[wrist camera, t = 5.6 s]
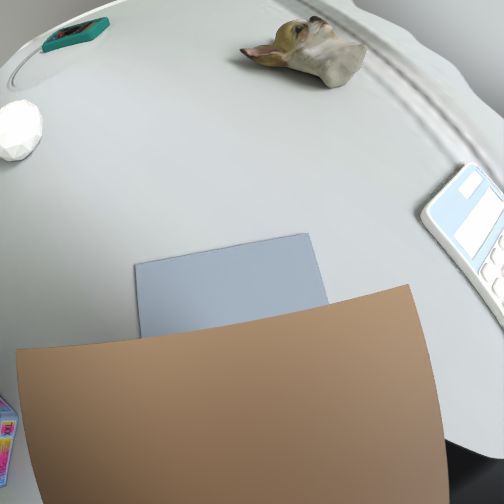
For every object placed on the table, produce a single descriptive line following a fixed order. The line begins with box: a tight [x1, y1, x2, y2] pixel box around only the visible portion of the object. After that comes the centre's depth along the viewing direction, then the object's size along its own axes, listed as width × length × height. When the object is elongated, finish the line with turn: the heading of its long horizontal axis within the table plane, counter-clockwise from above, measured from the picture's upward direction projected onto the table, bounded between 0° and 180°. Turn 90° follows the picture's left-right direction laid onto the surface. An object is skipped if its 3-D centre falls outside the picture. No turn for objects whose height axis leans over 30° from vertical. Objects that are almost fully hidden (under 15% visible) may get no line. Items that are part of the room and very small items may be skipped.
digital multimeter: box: [42, 17, 110, 53], centre depth 43 cm, size 8×15×3 cm, turn 80°
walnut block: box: [16, 284, 449, 504], centre depth 8 cm, size 5×5×13 cm
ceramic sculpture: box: [240, 16, 367, 88], centre depth 31 cm, size 11×9×15 cm
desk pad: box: [136, 233, 329, 338], centre depth 20 cm, size 18×14×1 cm
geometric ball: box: [0, 100, 43, 161], centre depth 26 cm, size 8×8×8 cm
